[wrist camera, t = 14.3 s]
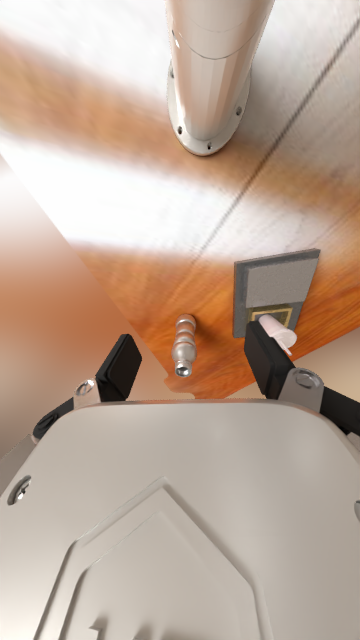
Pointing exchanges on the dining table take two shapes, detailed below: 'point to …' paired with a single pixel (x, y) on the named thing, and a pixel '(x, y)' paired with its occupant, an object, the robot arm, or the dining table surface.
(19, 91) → the dining table surface
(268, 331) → the smoothie
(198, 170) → the dining table surface
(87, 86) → the dining table surface
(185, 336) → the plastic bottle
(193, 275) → the dining table surface
